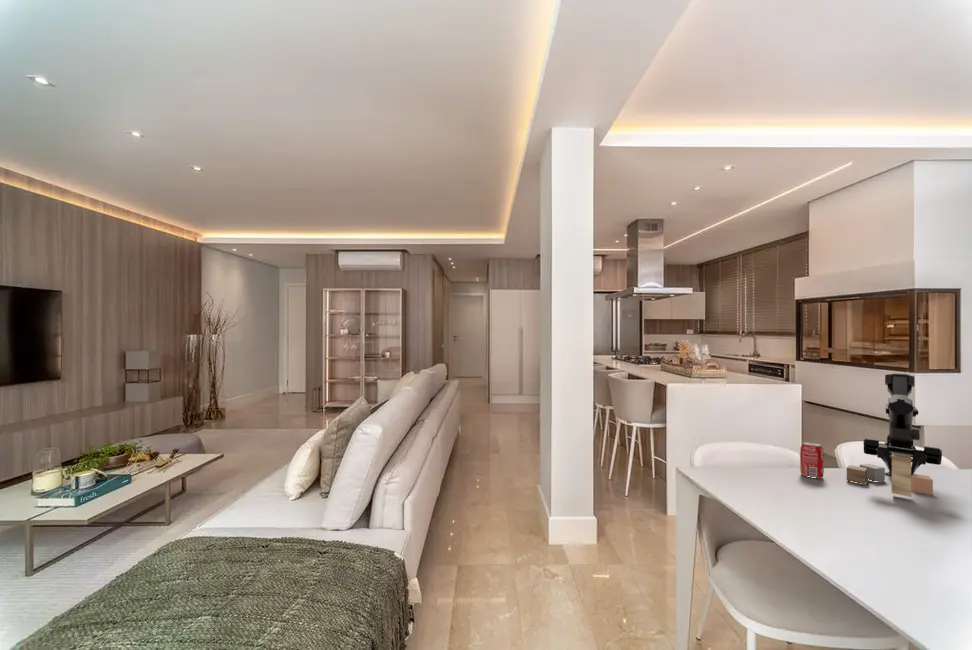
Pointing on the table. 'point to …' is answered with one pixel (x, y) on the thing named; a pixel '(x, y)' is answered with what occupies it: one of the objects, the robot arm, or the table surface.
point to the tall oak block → (901, 474)
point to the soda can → (812, 459)
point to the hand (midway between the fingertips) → (901, 473)
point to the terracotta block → (922, 484)
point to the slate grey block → (875, 472)
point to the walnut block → (857, 474)
